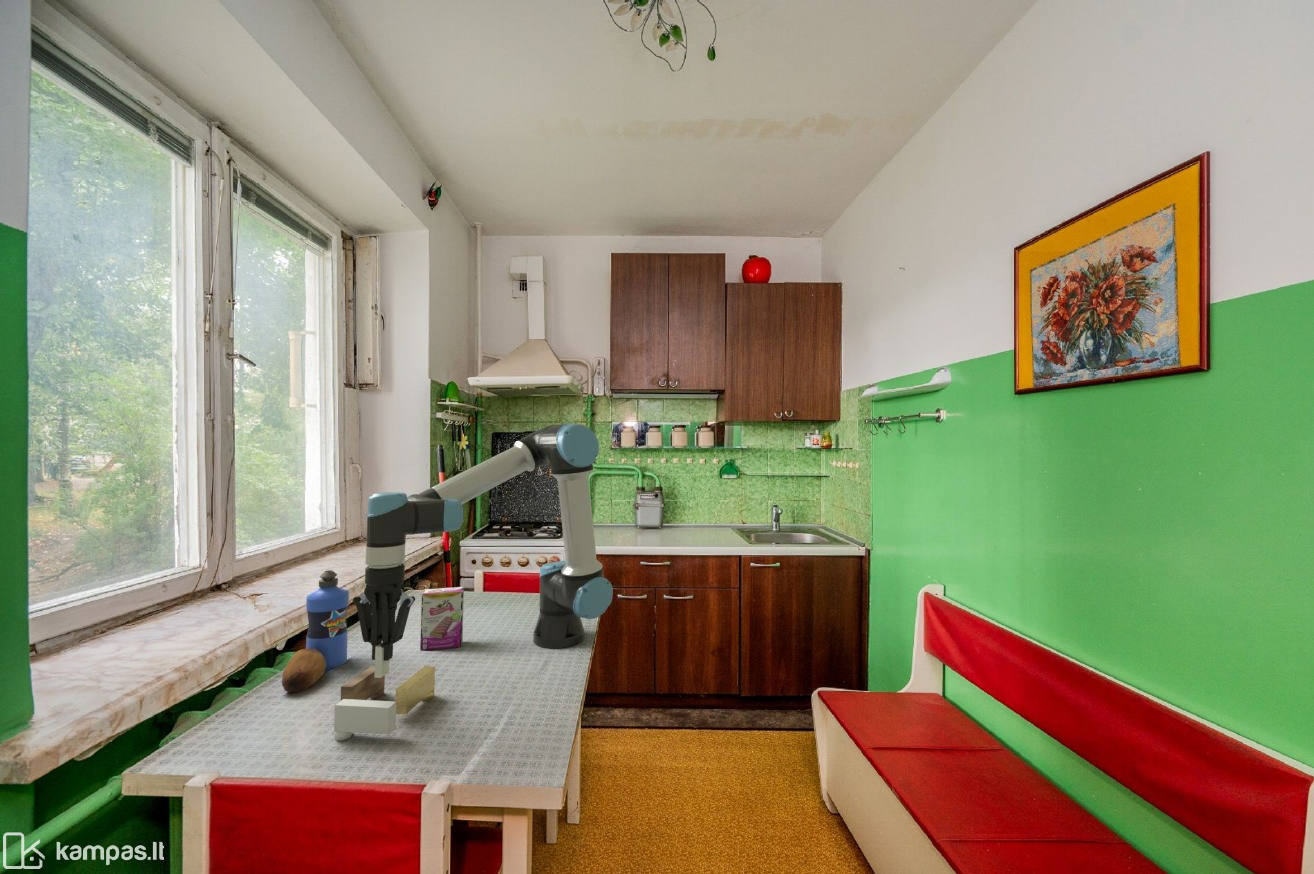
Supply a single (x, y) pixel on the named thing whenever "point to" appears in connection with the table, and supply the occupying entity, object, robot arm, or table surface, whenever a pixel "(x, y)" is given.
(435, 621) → the candy bar box
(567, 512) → the robot arm
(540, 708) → the table surface
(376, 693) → the lever
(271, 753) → the table surface
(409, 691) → the lever
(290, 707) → the table surface
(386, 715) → the light grey boxy piece
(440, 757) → the table surface
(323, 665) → the potato
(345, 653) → the water bottle
